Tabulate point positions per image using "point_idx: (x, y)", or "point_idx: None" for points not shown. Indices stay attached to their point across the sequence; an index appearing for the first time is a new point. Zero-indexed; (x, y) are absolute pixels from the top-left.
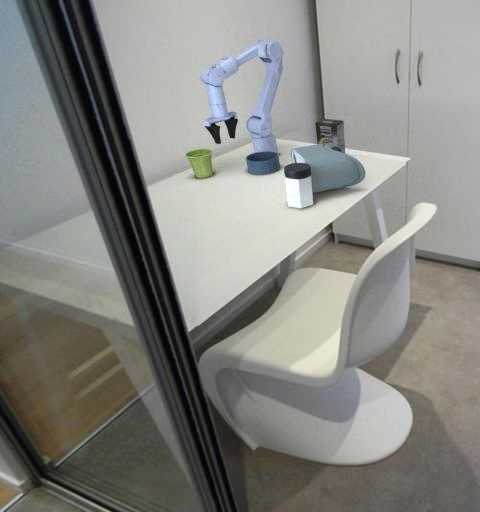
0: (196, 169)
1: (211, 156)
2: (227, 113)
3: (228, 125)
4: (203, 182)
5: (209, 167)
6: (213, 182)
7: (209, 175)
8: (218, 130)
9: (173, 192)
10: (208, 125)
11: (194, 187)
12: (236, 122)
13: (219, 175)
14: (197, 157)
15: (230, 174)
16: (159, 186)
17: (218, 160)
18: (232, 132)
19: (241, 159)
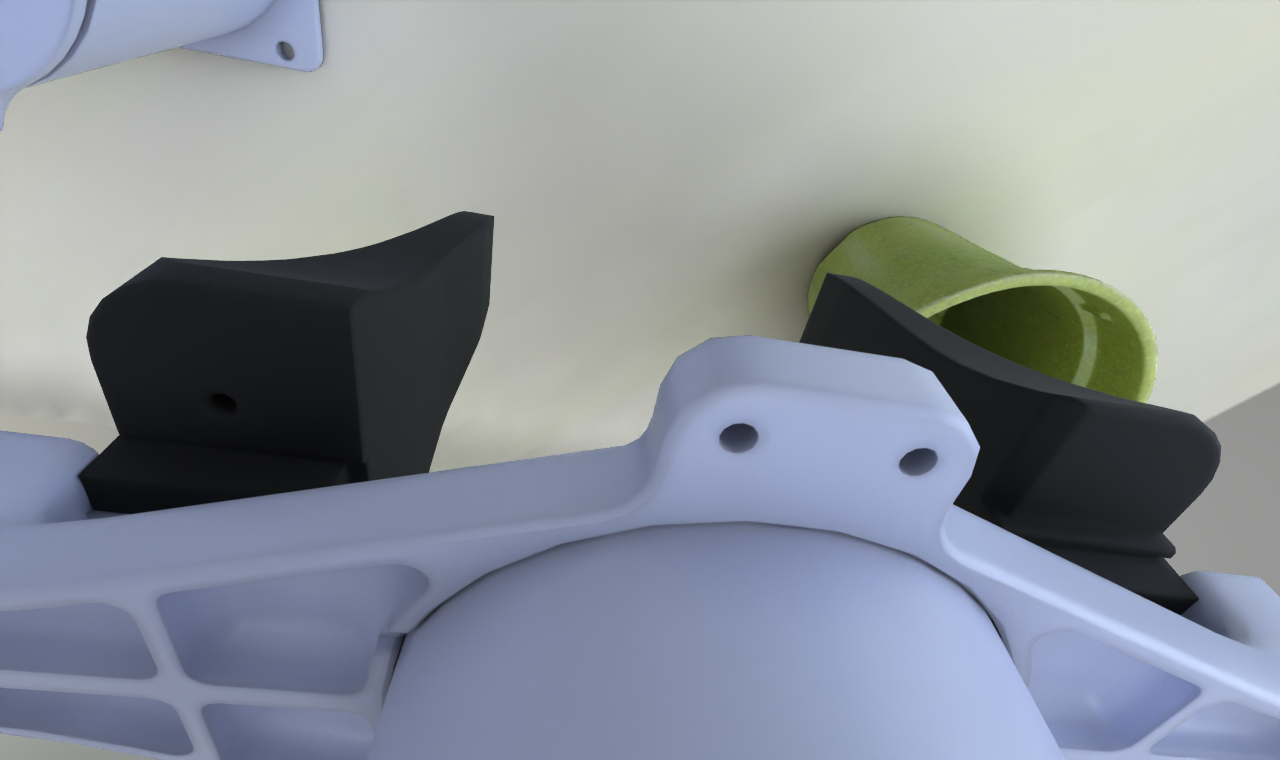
0: (1010, 330)
1: (939, 279)
2: (624, 656)
3: (422, 435)
4: (1072, 188)
5: (955, 241)
6: (1095, 81)
7: (928, 221)
8: (1013, 377)
9: (1261, 302)
10: (1274, 602)
11: (1192, 197)
12: (272, 268)
13: (888, 138)
14: (1156, 348)
15: (861, 21)
16: None
17: (498, 380)
18: (464, 279)
19: (385, 179)
